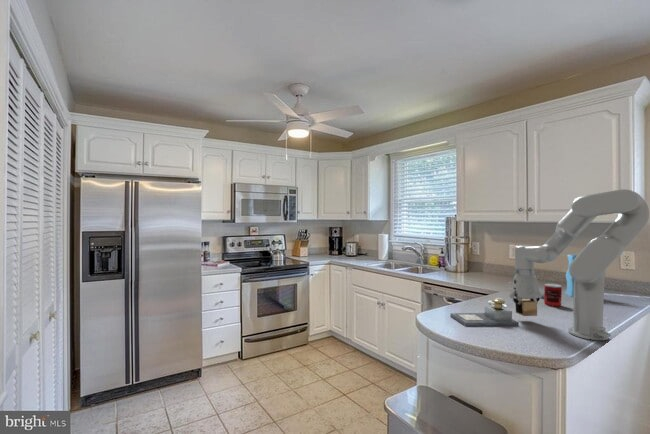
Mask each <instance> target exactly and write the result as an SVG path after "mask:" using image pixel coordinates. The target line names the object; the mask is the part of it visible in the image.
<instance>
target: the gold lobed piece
mask: <svg viewBox="0 0 650 434" xmlns="http://www.w3.org/2000/svg"><path fill="white" fill-rule="evenodd" d="M491 301H492V302H494V309H496V310H502V307H503V305H502V304H505V303H506V302H505V301H506V300H504V299H502V300H501V299H496V298H492V299H491Z"/></svg>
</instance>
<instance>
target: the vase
mask: <svg viewBox="0 0 650 434" xmlns="http://www.w3.org/2000/svg"><path fill="white" fill-rule="evenodd" d="M577 256H578V254H567V259H568V268H567V271H566V273H565V279H566V280H565V281H566V291H565V295H566V294H567V295H566V296H568V295H569V296H571V297H570V298H572V297H574V282H575V280H574V279H573V278H572V277H571V275H570V273H569V266H570V264H571V263H572V261H573V260H574V259H575V258H576V257H577ZM569 296H568V297H569Z"/></svg>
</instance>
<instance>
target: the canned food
mask: <svg viewBox="0 0 650 434" xmlns="http://www.w3.org/2000/svg"><path fill="white" fill-rule="evenodd" d="M543 287H544V293H543V294H544V298H543V301H544V302H543V303H544V305H546V306H547V307H552V306H553V308H554V307H555V308H559V307H562V291H563V289H562V288H563V287H562V285H561V284H558V283H557V284H556V283H545V284H544V286H543Z"/></svg>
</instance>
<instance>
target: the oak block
mask: <svg viewBox="0 0 650 434" xmlns="http://www.w3.org/2000/svg"><path fill="white" fill-rule="evenodd" d="M514 305H515V307H516V303H514ZM521 305H522V314H520V313H518V312H516V311H515V313H516V314H518V315H521V316H523V317H536V316H537V317H538V303H537V302H535V301H531V300H530V299H522V301H521Z"/></svg>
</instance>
